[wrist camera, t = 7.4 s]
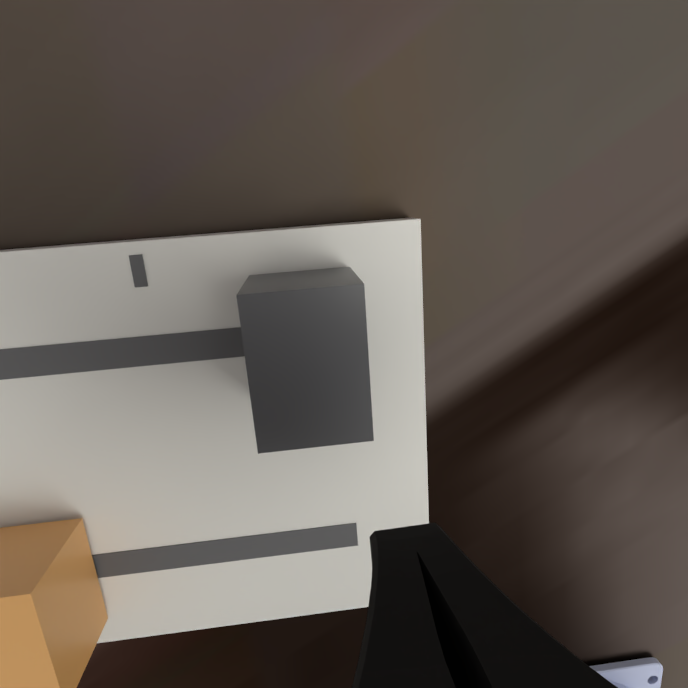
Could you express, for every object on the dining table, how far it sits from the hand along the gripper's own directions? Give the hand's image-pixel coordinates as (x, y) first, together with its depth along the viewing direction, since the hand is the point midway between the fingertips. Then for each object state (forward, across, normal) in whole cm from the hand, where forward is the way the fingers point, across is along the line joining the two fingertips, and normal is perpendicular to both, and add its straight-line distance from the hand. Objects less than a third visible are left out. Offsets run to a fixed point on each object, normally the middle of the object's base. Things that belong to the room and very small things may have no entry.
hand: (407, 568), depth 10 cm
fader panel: (+9, +7, +1) cm, 12 cm away
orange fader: (+8, +12, +5) cm, 15 cm away
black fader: (+8, +1, -3) cm, 8 cm away
